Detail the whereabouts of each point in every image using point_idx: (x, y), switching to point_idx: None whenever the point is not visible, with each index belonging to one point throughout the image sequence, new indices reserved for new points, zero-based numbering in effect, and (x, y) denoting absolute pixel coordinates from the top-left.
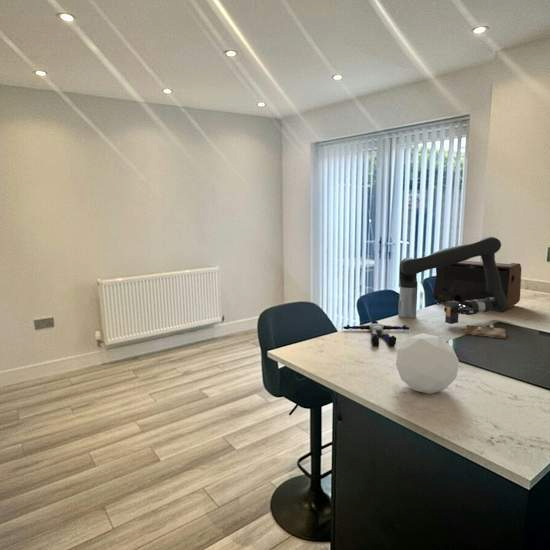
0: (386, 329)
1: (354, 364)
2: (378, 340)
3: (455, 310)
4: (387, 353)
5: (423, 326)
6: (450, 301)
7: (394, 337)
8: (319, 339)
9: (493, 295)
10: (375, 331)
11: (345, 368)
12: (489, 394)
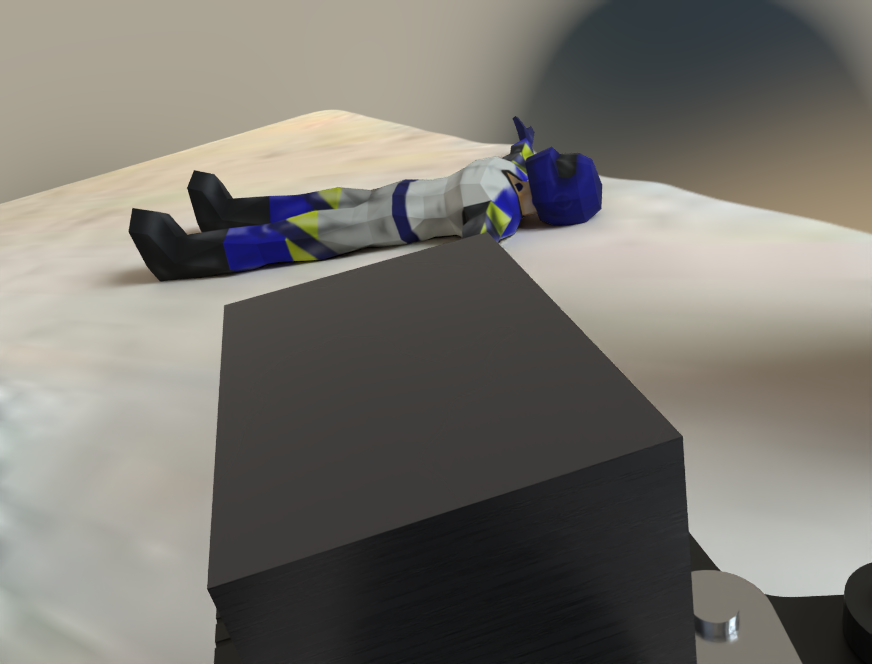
0: None
1: (87, 212)
2: (194, 206)
3: (217, 629)
4: (100, 265)
5: None
6: (437, 302)
7: (133, 221)
8: (411, 134)
9: None
10: (361, 191)
11: (78, 203)
12: None
